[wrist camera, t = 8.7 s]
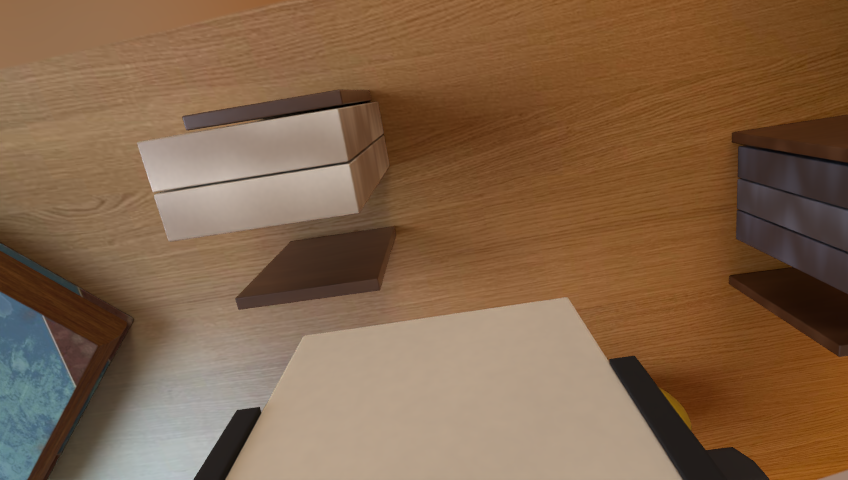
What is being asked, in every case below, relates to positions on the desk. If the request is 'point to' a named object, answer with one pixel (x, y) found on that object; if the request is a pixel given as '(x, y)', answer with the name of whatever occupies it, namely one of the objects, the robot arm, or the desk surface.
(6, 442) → the book
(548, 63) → the desk surface
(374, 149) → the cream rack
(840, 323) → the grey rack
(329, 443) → the cream book
